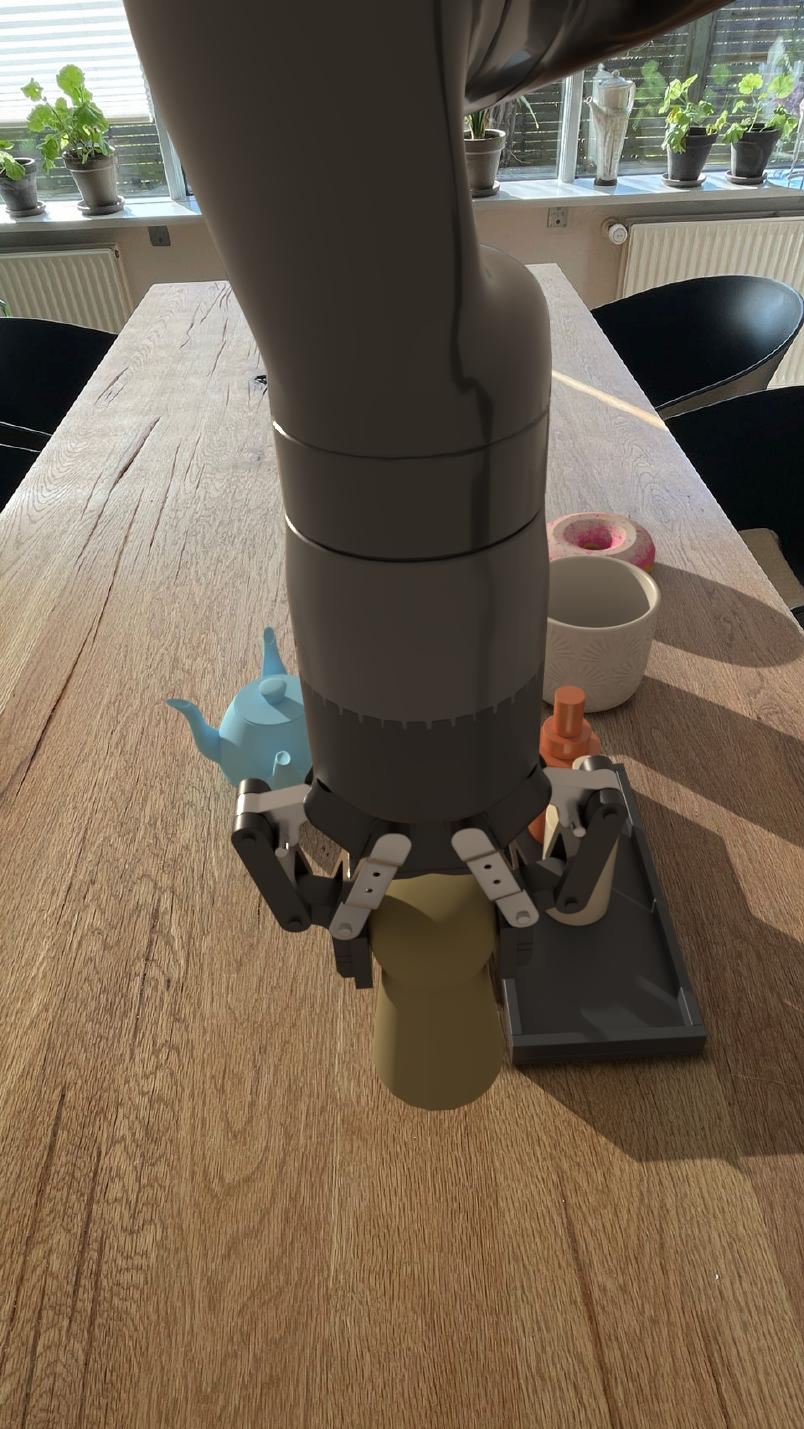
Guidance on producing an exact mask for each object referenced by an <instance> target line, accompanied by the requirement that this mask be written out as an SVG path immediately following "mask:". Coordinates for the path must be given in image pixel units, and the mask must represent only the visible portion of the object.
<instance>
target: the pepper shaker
mask: <svg viewBox="0 0 804 1429" xmlns="http://www.w3.org/2000/svg"><path fill="white" fill-rule="evenodd" d="M367 932H368V941H369V945H370V947H371V950H372V955H373V957H374V958H375V961H376V962H377V963H378V965H379V966H380V971H379V972H380V974H379V983H378V992H377V1000H376V1011H375V1018H374V1029H373V1030H374V1031H373V1038H372V1061H373V1065H374V1067H375V1070H376V1072H377V1075H378V1078H379V1080H380V1081H381V1082H382V1084H383V1085H384V1086H385V1087H386V1089H387V1090H388V1091H389V1092H390V1093H391V1095H392V1096H394V1097H396V1098H397V1099H399V1100H400V1101H402V1102H404V1103H405V1104H407V1105H409V1107H414V1108H418V1109H421V1110H426V1111H429V1112H439V1111H454V1110H457V1109H459V1108H462V1107H465V1106H468V1105H470V1104H472V1103H475V1102H476V1101H477V1100H478V1099H479V1098H481V1097H482V1096H483V1095H484V1094H485V1093H487V1092H488V1091H489V1090H490V1089H491V1088H492V1086H493V1084H494V1082H495V1081H496V1079H497V1078H498V1077H499V1075H500V1074H501V1070H502V1065H503V1061H504V1056H505V1047H504V1041H503V1033H502V1029H501V1023H500V1019H499V1014H498V1009H497V1003H496V1000H495V995H494V990H493V985H492V981H491V980H492V979H491V977H490V972H489V966H488V961H489V959H490V957H491V955H492V953H493V952H494V945H495V941H496V937H497V933H498V921H497V914H496V907H495V904H494V901H493V902H490V900H489V899H488V897H487V896H486V894H485V893H484V891H483V889H482V888H481V886H480V885H479V883H478V881H477V880H476V878H475V877H474V875H473V874H471V875H456V876H452V875H442V874H427V875H423V876H419V877H415V878H411V879H399V880H392V881H391V883H390V885H389V887H388V889H387V891H386V893H385V895H384V897H383V899H382V901H381V903H380V905H379V907H378V909H377V910H374V909H372V910H371V912H370V914H369V916H368V918H367Z"/></svg>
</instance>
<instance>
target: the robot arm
mask: <svg viewBox="0 0 804 1429" xmlns="http://www.w3.org/2000/svg"><path fill="white" fill-rule="evenodd" d="M738 1H739V0H122V5H123V7H124V12H125V16H126V20H127V23H128V27H129V30H130V34H131V38H132V41H133V45H134V49H135V51H136V53H137V56H138V59H139V62H140V65H141V68H142V70H143V74H144V76H145V78H146V81H147V84H148V87H149V90H150V92H151V95H152V97H153V100H154V102H155V105H156V107H157V110H158V112H159V115H160V117H161V119H162V122H163V124H164V127H165V129H166V131H167V134H168V136H169V139H170V142H171V143H172V146H173V148H174V150H175V153H176V155H177V159H178V160H179V163H180V166H181V167H182V170H183V173H184V175H185V177H186V180H187V182H188V185H189V187H190V189H191V191H192V194H193V197H194V199H195V201H196V204H197V207H198V208H199V211H200V213H201V216H202V218H203V221H204V222H205V223H204V224H205V225H206V228H207V230H208V234H209V236H210V238H211V240H212V243H213V246H214V248H215V251H216V254H217V256H218V259H219V261H220V263H221V266H222V268H223V272H224V273H225V276H226V278H227V281H228V283H229V286H230V288H231V290H232V293H233V295H234V297H235V299H236V301H237V303H238V305H239V307H240V309H241V311H242V315H243V316H244V318H245V321H246V323H247V325H248V328H249V330H250V332H251V335H252V337H253V340H254V342H255V344H256V348H257V349H258V351H259V355H260V357H261V360H262V363H263V368H264V372H265V377H266V379H265V380H266V387H267V396H268V397H267V399H268V405H269V415H270V422H271V429H272V434H273V435H272V436H273V442H274V449H275V456H276V462H277V470H278V478H279V485H280V490H281V498H282V503H283V514H284V515H283V516H284V526H285V558H284V559H285V560H284V561H285V562H284V564H285V565H284V567H285V568H284V569H285V571H284V573H285V587H286V596H287V603H288V611H289V616H290V623H291V630H292V638H293V642H294V649H295V655H296V656H295V657H296V663H297V671H298V677H300V684H301V691H302V698H303V704H304V711H305V717H306V724H307V731H308V737H309V744H310V751H311V757H312V766H311V768H310V769H309V771H308V772H307V774H306V777H305V781H304V784H300V785H295V786H291V787H287V788H282V789H278V790H274V791H272V790H271V788H270V786H269V785H268V784H267V783H266V782H265V781H263V780H261V779H257V778H249V779H245V780H243V781H241V782H240V783H239V784H238V786H237V788H236V791H235V792H236V793H235V798H234V799H235V800H234V809H233V818H232V826H231V835H230V842H231V844H232V847H233V849H234V850H235V851H236V854H237V855H238V857H239V858H240V860H241V862H242V863H243V865H244V867H245V869H246V870H247V873H248V874H249V876H250V877H251V879H252V881H253V883H254V884H255V886H256V888H257V890H258V892H259V893H260V894H261V896H262V898H263V899H264V902H265V903H266V904H267V906H268V908H269V910H270V912H271V913H272V915H273V917H274V918H275V920H276V922H277V924H278V925H279V927H280V929H282V930H284V931H285V932H288V933H293V934H295V933H296V934H297V933H302V932H306V931H308V929H309V928H311V926H318V927H322V928H323V929H326V930H327V931H328V934H329V935H330V936H331V943H332V947H333V954H334V960H335V967H336V972H337V973H338V974H339V976H340V977H341V978H342V979H351V978H352V979H354V983H355V984H354V985H355V990H369V989H370V990H371V989H374V967H373V966H374V965H373V952H372V950H371V947H370V945H369V941H368V932H367V918H368V916H369V914H370V912H371V910H372V909H374V910H377V909H378V907H379V905H380V903H381V901H382V899H383V897H384V895H385V893H386V891H387V889H388V887H389V885H390V883H391V881H392V880H399V879H411V878H415V877H419V876H423V875H427V874H442V875H452V876H456V875H471V874H473V875H474V877H475V878H476V880H477V881H478V883H479V885H480V886H481V888H482V889H483V891H484V893H485V894H486V896H487V897H488V899H489V900H490V902H493V901H494V904H495V907H496V914H497V921H498V933H497V937H496V941H495V945H494V949H493V955H494V963H495V969H496V970H495V971H496V975H497V981H498V980H499V981H500V980H503V979H515V978H516V966H527V965H528V963H529V962H530V960H531V959H532V951H533V950H532V949H533V936H534V923H536V922H537V921H538V919H539V914H540V913H542V912H543V911H546V910H548V909H552V908H555V907H556V909H557V910H558V911H559V912H560V913H563V914H575V913H578V912H580V911H582V910H583V909H584V908H585V907H586V906H587V904H588V902H589V900H590V897H591V895H592V893H593V891H594V889H595V886H596V884H597V882H598V880H599V878H600V876H601V873H602V871H603V869H604V867H605V865H606V863H607V860H608V858H609V856H610V854H611V852H612V849H613V847H614V845H615V843H616V841H617V839H618V836H619V834H620V832H621V830H622V828H623V826H624V823H625V821H626V819H627V817H628V810H627V807H626V804H625V800H624V797H623V793H622V789H621V786H620V783H619V780H618V777H617V775H616V772H615V769H614V766H613V764H614V763H613V760H612V759H611V758H610V757H608V756H607V755H603V754H600V755H594V756H591V757H588V758H587V759H585V760H584V761H583V762H582V763H581V765H580V767H579V770H577V769H566V768H555V767H547V764H546V761H545V759H544V758H543V756H542V755H541V754H540V752H539V750H540V732H541V727H542V715H543V714H542V713H543V701H544V700H543V684H544V669H545V653H546V637H547V621H548V603H549V588H550V561H549V547H548V538H547V529H546V525H547V519H546V518H547V517H546V493H547V476H548V458H549V442H550V441H549V440H550V439H549V438H550V422H551V421H550V420H551V405H552V404H551V402H552V400H551V397H552V378H553V377H552V376H553V373H552V372H553V371H552V370H553V369H552V368H553V367H552V364H553V363H552V362H553V360H552V358H553V357H552V355H553V354H552V336H551V335H552V334H551V318H550V317H551V316H550V310H549V305H548V302H547V298H546V296H545V294H544V290H543V289H542V286H541V284H540V282H539V280H538V279H537V277H536V276H535V275H534V273H533V272H531V270H530V269H529V268H528V266H526V265H525V263H523V262H522V261H521V260H519V259H517V258H516V257H514V256H513V255H511V254H509V253H508V252H506V251H504V250H502V249H499V248H497V247H494V246H491V245H489V244H485V243H483V242H480V239H479V233H478V227H477V226H478V225H477V220H476V213H475V208H474V202H473V201H474V200H473V196H472V195H473V194H472V189H471V181H470V175H469V168H468V161H467V151H466V150H467V149H466V142H465V141H466V140H465V130H464V118H466V117H468V116H471V115H474V114H477V113H480V112H483V111H486V110H489V109H492V108H494V107H495V108H496V107H497V106H500V105H503V104H505V103H509V102H511V101H514V100H516V99H519V98H521V97H524V96H526V95H528V94H531V93H533V92H536V91H538V90H540V89H543V88H545V87H548V86H550V85H553V84H555V83H557V82H558V83H559V82H560V81H563V80H565V79H567V78H569V77H572V76H574V75H577V74H578V73H581V72H584V71H585V70H588V69H590V68H593V67H595V66H598V65H599V64H602V63H604V62H606V61H609V60H611V59H614V58H616V57H618V56H620V55H623V54H625V53H628V52H629V51H632V50H634V49H636V48H639V47H641V46H643V45H646V44H648V43H650V42H652V41H654V40H657V39H659V38H661V37H663V36H665V35H667V34H670V33H672V32H674V31H676V30H678V29H680V28H683V27H685V26H687V25H689V24H691V23H693V22H696V21H698V20H701V19H702V18H704V17H706V16H708V15H710V14H713V13H715V12H717V11H719V10H721V9H723V8H725V7H727V6H730V5H733V3H736V2H738ZM549 804H551V805H553V806H555V807H556V811H557V815H558V819H559V821H558V823H557V826H556V828H555V831H554V833H553V836H552V838H551V841H550V843H549V846H548V849H547V851H546V854H545V859H543V860H540V861H537V862H534V863H530V864H528V862H527V860H526V858H525V857H524V855H523V853H522V851H521V849H520V848H519V846H518V844H517V842H516V840H515V838H516V837H517V836H518V835H519V834H520V833H522V832H523V831H524V830H525V829H526V828H527V827H528V826H529V825H530V824H531V823H532V822H533V821H534V820H535V819H536V818H537V817H538V816H539V815H540V814H541V813H542V812H543V811H544V810H545V809H546V808H547V806H548V805H549ZM306 822H309V823H310V825H312V827H314V828H315V829H316V830H318V831H319V832H320V833H322V834H323V835H324V836H326V837H327V838H328V839H329V840H331V841H332V842H334V844H336V845H338V846H339V848H341V852H340V854H339V856H338V859H337V861H336V863H335V865H334V868H333V870H332V871H331V874H330V877H329V876H324V875H323V876H322V875H316V874H314V871H313V868H312V866H311V864H310V862H309V861H308V859H307V857H306V855H305V852H304V851H303V849H302V847H301V844H300V842H299V841H300V833H301V826H302V824H304V823H306Z"/></svg>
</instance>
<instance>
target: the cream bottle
mask: <svg viewBox="0 0 804 1429" xmlns="http://www.w3.org/2000/svg"><path fill="white" fill-rule="evenodd" d="M588 757H591V756H582V757H579V758H577V759H576V760H575V761H574V763H573V767H572V769H577V770H579V767H580V765H581V763H582V762H583V761H584V760H585V759H587V758H588ZM558 821H559V819H558V815H557V811H556V807H555V806H553V805H551V804H549V806H548V808H547V811H546V820H545V832H544V845H543V858H542V860H543V859H545V854H546V851H547V849H548V846H549V843H550V841H551V838H552V836H553V833H554V831H555V828H556V826H557V823H558ZM619 836H620V834H619ZM619 836H618V839H617V841H616V843H615V845H614V847H613V849H612V852H611V854H610V856H609V858H608V860H607V863H606V865H605V867H604V869H603V871H602V873H601V876H600V878H599V880H598V882H597V884H596V886H595V889H594V891H593V893H592V895H591V897H590V900H589V902H588V904H587V906H586V907H585V908H584V909H583V910H582V911H580V912H578V913H575V914H563V913H560V912H559V911H558V910H557V909H556V907H555V908H552V909H548V910H546V912H547V913H548V914H549V915H550V916H551V917H552V918H554V919H555V920H557V921H559V922H561V923H564V924H568V925H573V926H582V925H588V924H591V923H593V922H596V921H597V920H599V919H600V918H601V917H602V916H603V915H604V914H605V913H606V911H607V909H608V906H609V901H610V894H611V888H612V882H613V875H614V869H615V862H616V856H617V849H618V843H619Z"/></svg>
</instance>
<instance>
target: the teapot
mask: <svg viewBox="0 0 804 1429" xmlns="http://www.w3.org/2000/svg"><path fill="white" fill-rule="evenodd" d="M261 664H262V665H261V673H260V677H258V678H256V679H254V680H252V681H250V682H248V683H247V684H246V685H244V686H243V687H242V688H241V689H240V690H239V691H238V692H237V693H236V695H234V698H233V699H232V701H231V703H230V704H229V706H228V708H227V710H226V711H225V713H224V716H223V718H222V720H221V722H220V726H219V729H218V728H215V727H212V726H210V725H209V724H207V722H206V721H205V719H204V716H203V713H202V712H201V710H200V709H199V707H198V706H197V705H196V704H194V703H193V702H192V701H189V700H186V699H182V698H168V699H166V700H165V703H166V705H167V706H169V707H171V708H173V709H175V710H177V711H179V712H180V713H181V714H182V715H183V716H184V717H185V719H186V720H187V723H188V725H189V728H190V733H191V736H192V739H193V742H194V744H195V746H196V748H197V750H198V751H199V752H200V753H201V755H202V756H204V758H206V759H207V760H209V761H212V763H213V762H214V763H215V764H217V765H218V767H219V769H220V772H221V774H222V775H223V778H225V780H226V781H227V782H228V783H229V784H230V785H231V786H232V787H234V788H235V789H237V786H238V784H239V783H240V782H241V781H243V780H245V779H249V778H257V779H261V780H263V781H265V782H266V783H267V784H268V785H269V786H270V788H271V790H272V791H274V790H278V789H282V788H287V787H291V786H295V785H300V784H304V781H305V777H306V774H307V772H308V771H309V769H310V768H311V766H312V757H311V751H310V744H309V737H308V731H307V724H306V717H305V711H304V704H303V698H302V691H301V684H300V677H299V676H296V675H292V674H288V671H287V669H286V666H285V664H284V663H283V660H282V658H281V655H280V652H279V649H278V642H277V637H276V632H275V630H274V629H273V627H271V626H267V627H265V628H264V629H263V633H262V663H261Z"/></svg>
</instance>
